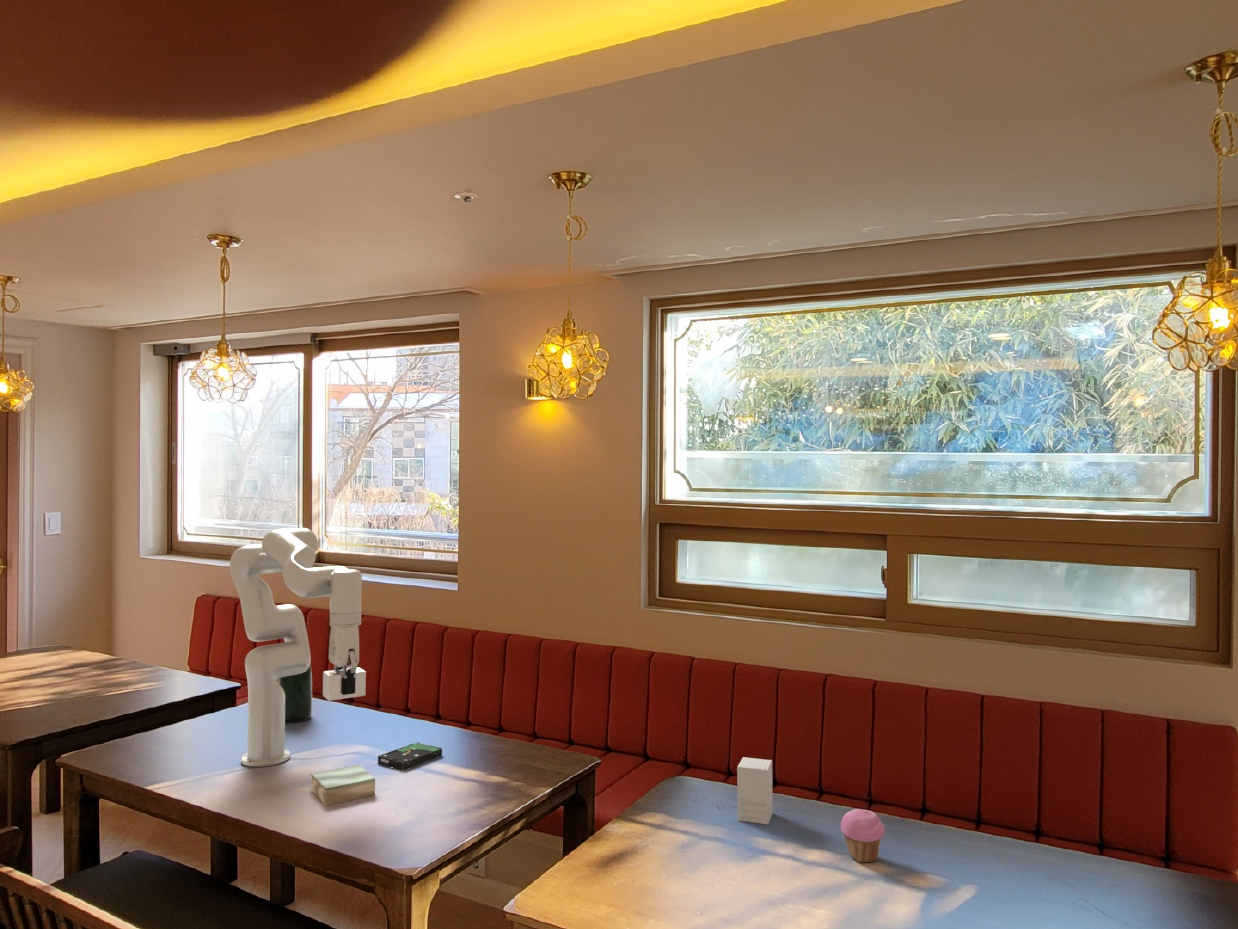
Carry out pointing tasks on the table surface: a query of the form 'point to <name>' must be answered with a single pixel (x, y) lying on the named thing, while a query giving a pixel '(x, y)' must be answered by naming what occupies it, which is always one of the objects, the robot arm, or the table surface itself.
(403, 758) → the disk drive
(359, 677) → the block
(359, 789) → the stand
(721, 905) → the table surface
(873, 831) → the cupcake
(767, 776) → the supplement box
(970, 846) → the table surface
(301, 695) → the beer bottle
